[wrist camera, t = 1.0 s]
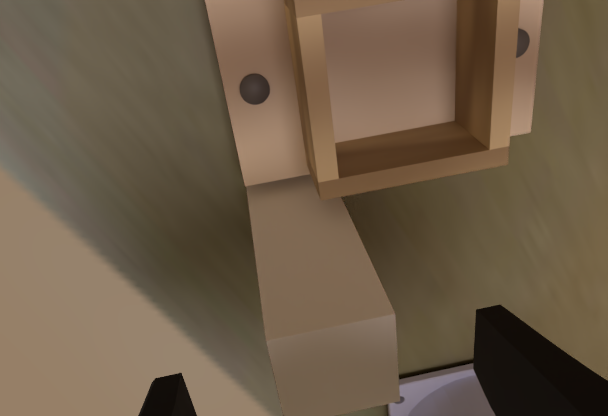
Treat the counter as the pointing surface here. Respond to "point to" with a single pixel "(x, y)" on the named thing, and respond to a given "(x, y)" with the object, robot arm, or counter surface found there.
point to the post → (320, 303)
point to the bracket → (375, 87)
